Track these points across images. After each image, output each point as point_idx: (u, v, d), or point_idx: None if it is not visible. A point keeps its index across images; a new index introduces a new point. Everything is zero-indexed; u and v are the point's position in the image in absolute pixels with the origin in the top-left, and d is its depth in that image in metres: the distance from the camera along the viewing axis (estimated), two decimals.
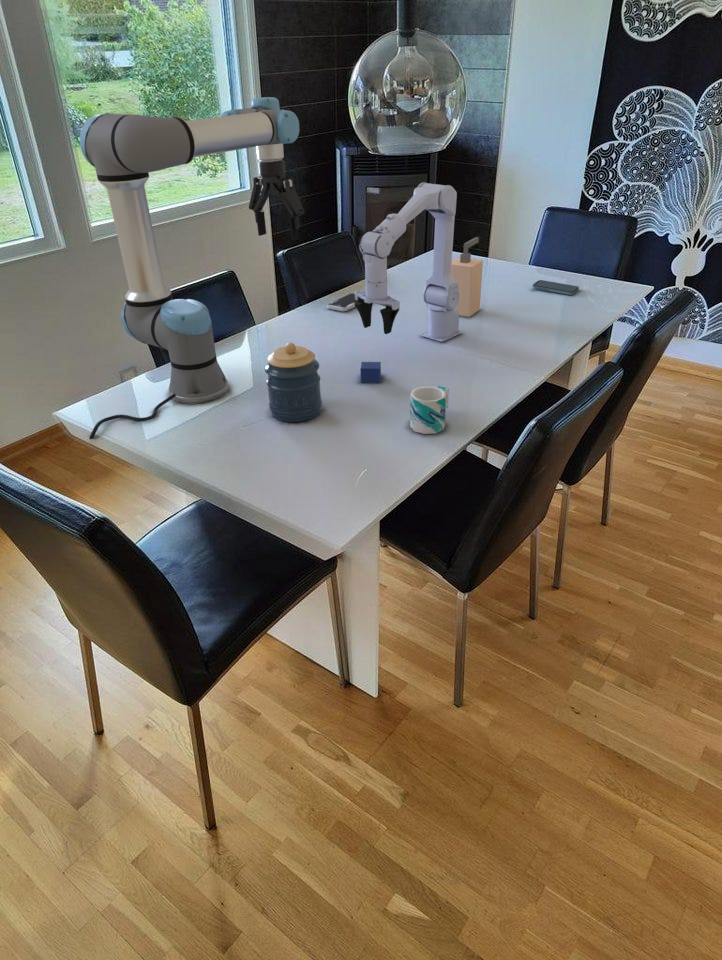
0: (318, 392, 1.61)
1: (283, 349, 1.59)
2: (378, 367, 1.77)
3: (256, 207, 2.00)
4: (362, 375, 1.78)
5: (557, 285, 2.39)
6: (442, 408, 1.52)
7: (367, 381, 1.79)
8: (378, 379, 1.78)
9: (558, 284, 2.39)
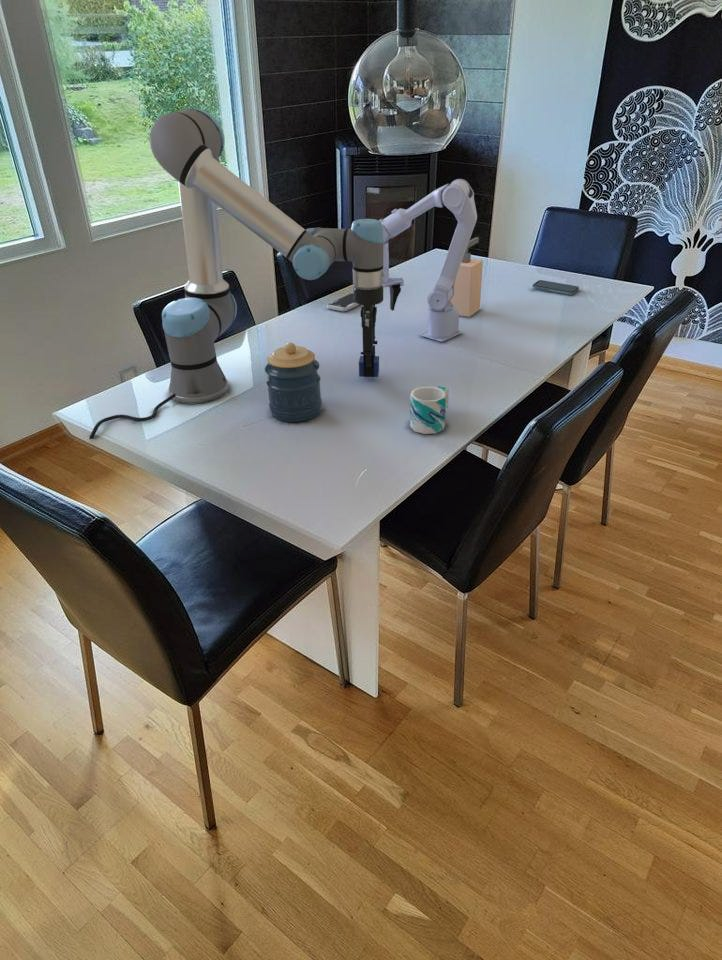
0: (318, 392, 1.61)
1: (283, 349, 1.59)
2: (376, 361, 1.76)
3: None
4: (360, 369, 1.77)
5: (557, 285, 2.39)
6: (442, 408, 1.52)
7: None
8: (376, 373, 1.77)
9: (558, 284, 2.39)
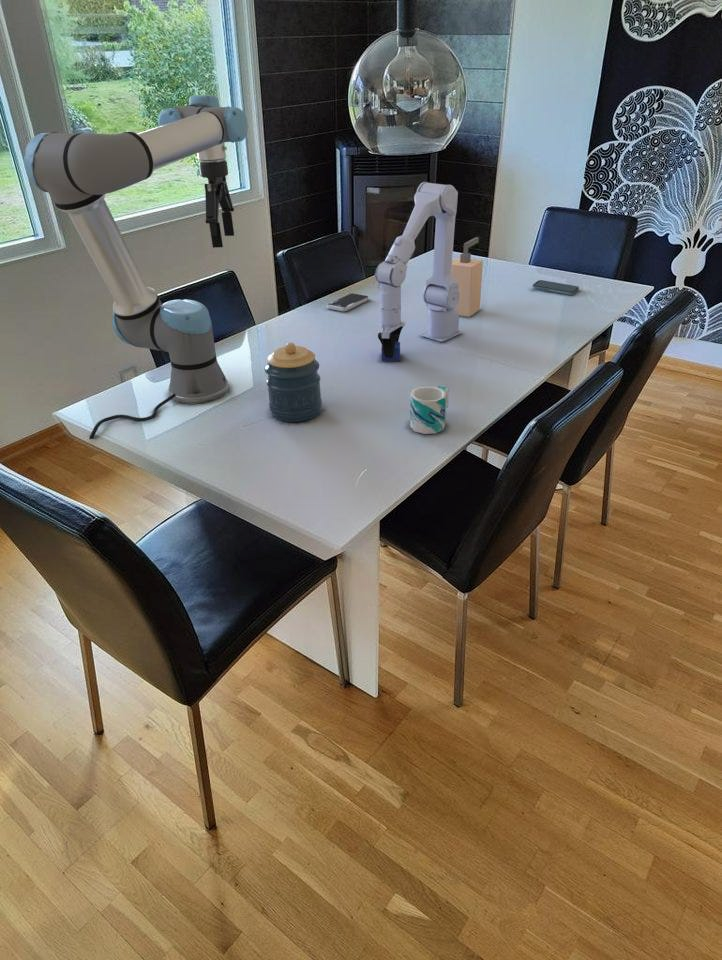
0: (318, 392, 1.61)
1: (283, 349, 1.59)
2: (398, 346, 1.89)
3: None
4: (383, 354, 1.90)
5: (557, 285, 2.39)
6: (442, 408, 1.52)
7: (387, 360, 1.90)
8: (398, 358, 1.90)
9: (558, 284, 2.39)
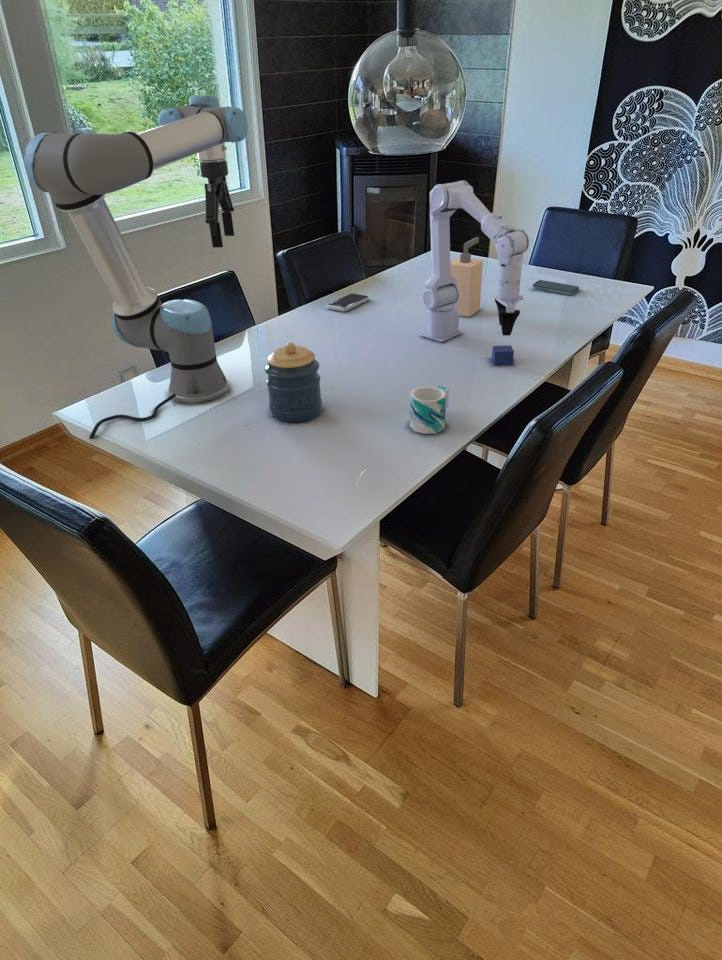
0: (318, 392, 1.61)
1: (283, 349, 1.59)
2: (512, 350, 1.84)
3: None
4: (496, 358, 1.84)
5: (557, 285, 2.39)
6: (442, 408, 1.52)
7: (500, 364, 1.85)
8: (511, 362, 1.85)
9: (558, 284, 2.39)
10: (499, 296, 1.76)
